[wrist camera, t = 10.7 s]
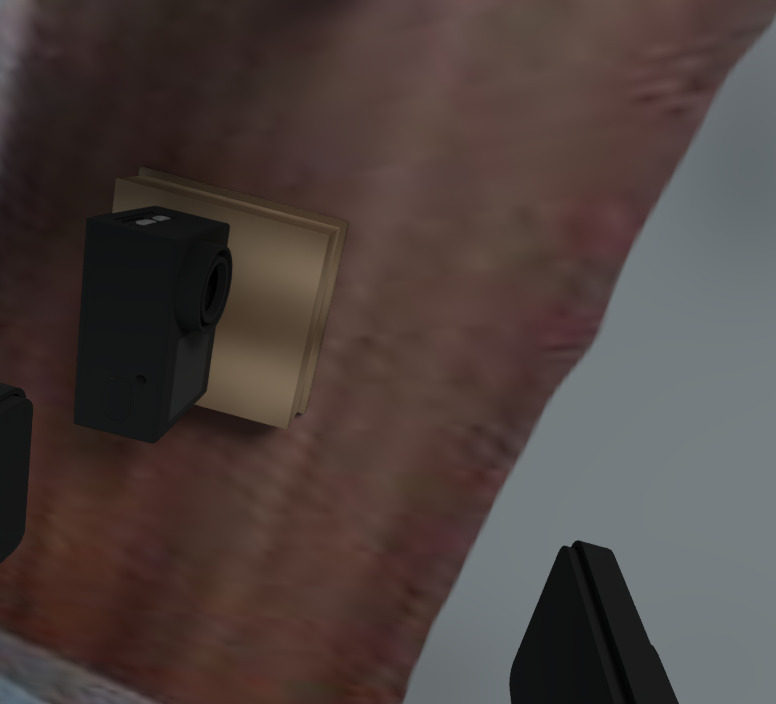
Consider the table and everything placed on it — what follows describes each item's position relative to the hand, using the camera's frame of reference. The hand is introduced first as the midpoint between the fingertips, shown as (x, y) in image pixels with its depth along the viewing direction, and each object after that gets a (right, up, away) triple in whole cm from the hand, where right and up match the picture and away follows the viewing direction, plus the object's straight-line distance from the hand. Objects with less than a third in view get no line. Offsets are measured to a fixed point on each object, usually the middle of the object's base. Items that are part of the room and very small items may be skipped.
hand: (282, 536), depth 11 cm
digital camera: (-9, +6, +25) cm, 27 cm away
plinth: (-8, +7, +28) cm, 30 cm away
